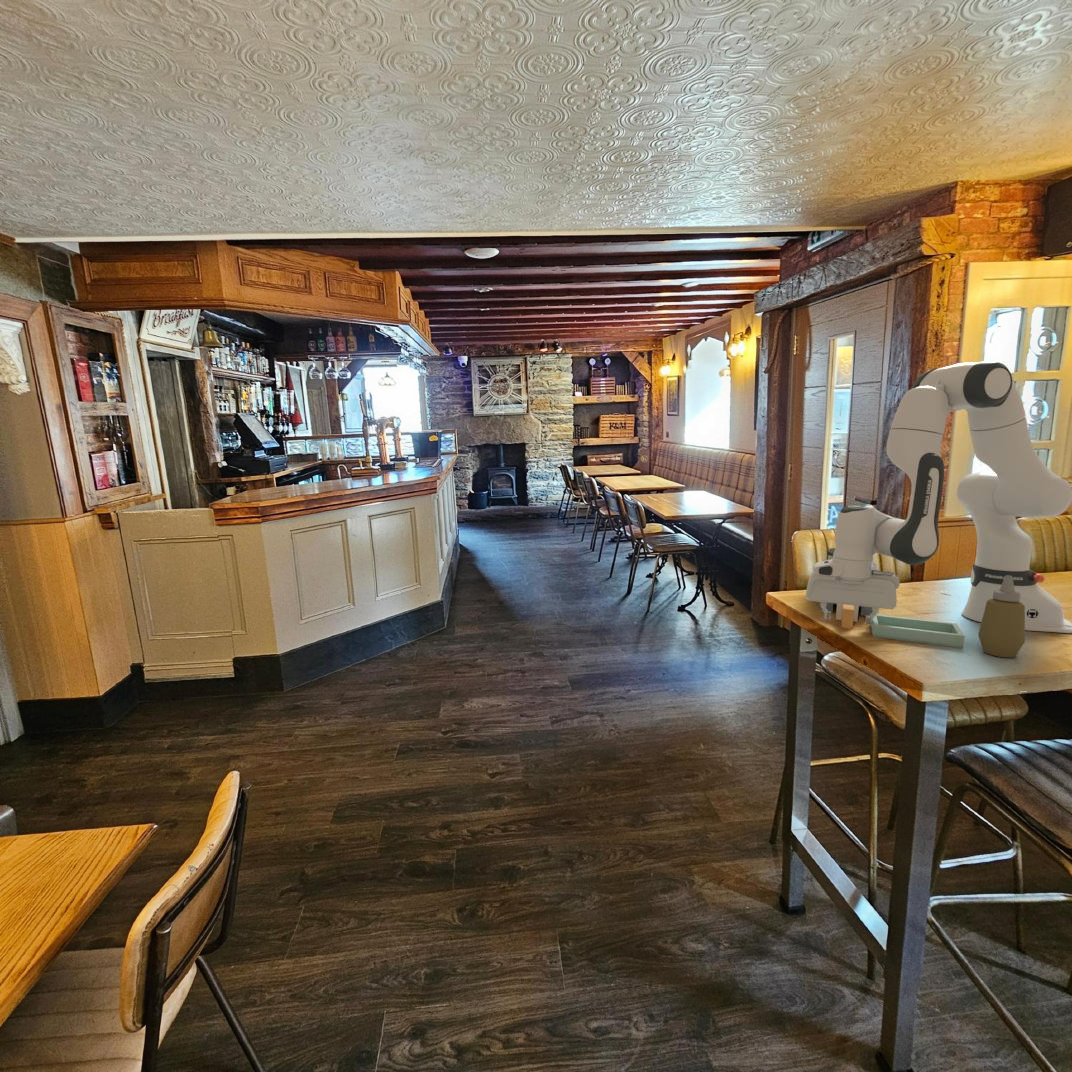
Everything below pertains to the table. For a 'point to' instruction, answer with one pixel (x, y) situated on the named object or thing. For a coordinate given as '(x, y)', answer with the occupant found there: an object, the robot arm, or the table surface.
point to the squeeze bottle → (1003, 622)
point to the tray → (917, 631)
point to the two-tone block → (847, 614)
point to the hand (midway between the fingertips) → (847, 620)
